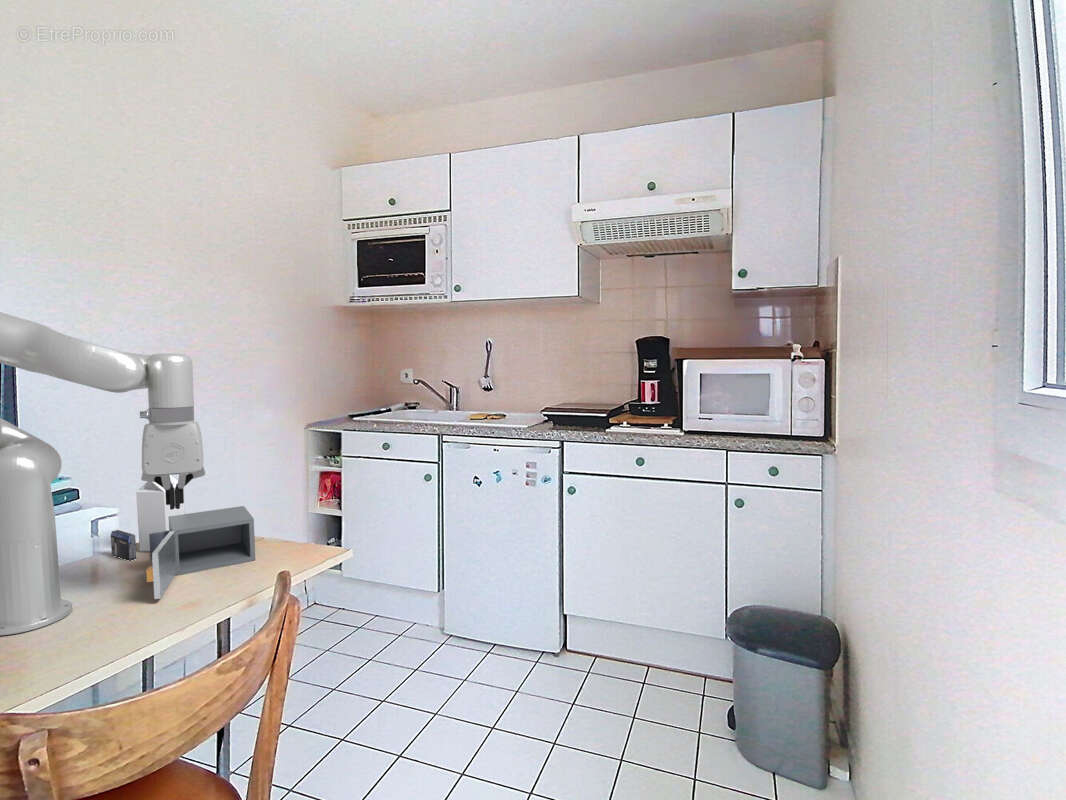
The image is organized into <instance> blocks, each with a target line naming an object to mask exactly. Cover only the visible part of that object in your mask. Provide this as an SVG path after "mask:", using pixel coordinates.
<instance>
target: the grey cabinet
mask: <svg viewBox="0 0 1066 800" xmlns="http://www.w3.org/2000/svg"><path fill="white" fill-rule="evenodd" d="M254 519H255V518H254V517H253V515H252V514H251V513H250V512H249V511H248V509H247V508H246V507H245V505H241V506H234V507H227V508H226V507H225V508H220V509H211V510H205V511H199V512H198V511H196V512H190V513H185V514H182V515H175V516H169V531H164V532H157V533H150V534H149V542H150V552H149V556H150V557H149V558H150V561H152V553H153V551H154V550H155V549H156V548H157V547H158V545H159V544H160V543H161V542H162V540H163V539H164V538H165V537H166V535H167V534H168V533H169V532H170V531H175V537H176V557H177V573H176V574H175V576H182V575H186V574H191V573H192V574H193V573H197V572H201V571H202V572H203V571H208V570H212V569H213V570H214V569H217V568H223V567H229V566H233V565H238V564H239V565H240V564H243V563H248V562H253V561H256V544H255V543H256V540H255V520H254ZM175 576H174V577H175Z"/></svg>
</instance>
